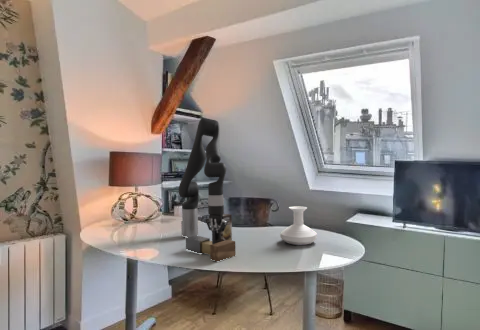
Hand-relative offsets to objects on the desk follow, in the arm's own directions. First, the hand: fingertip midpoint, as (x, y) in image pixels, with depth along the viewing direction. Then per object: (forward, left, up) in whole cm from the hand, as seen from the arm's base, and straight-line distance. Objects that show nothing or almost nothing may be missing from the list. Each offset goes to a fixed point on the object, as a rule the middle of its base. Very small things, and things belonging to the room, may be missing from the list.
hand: (216, 239), depth 162 cm
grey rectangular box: (-13, 0, -8) cm, 16 cm away
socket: (+4, 0, -8) cm, 9 cm away
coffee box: (-13, +18, -8) cm, 24 cm away
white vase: (+18, +46, -8) cm, 50 cm away
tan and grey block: (-3, 0, -7) cm, 8 cm away
